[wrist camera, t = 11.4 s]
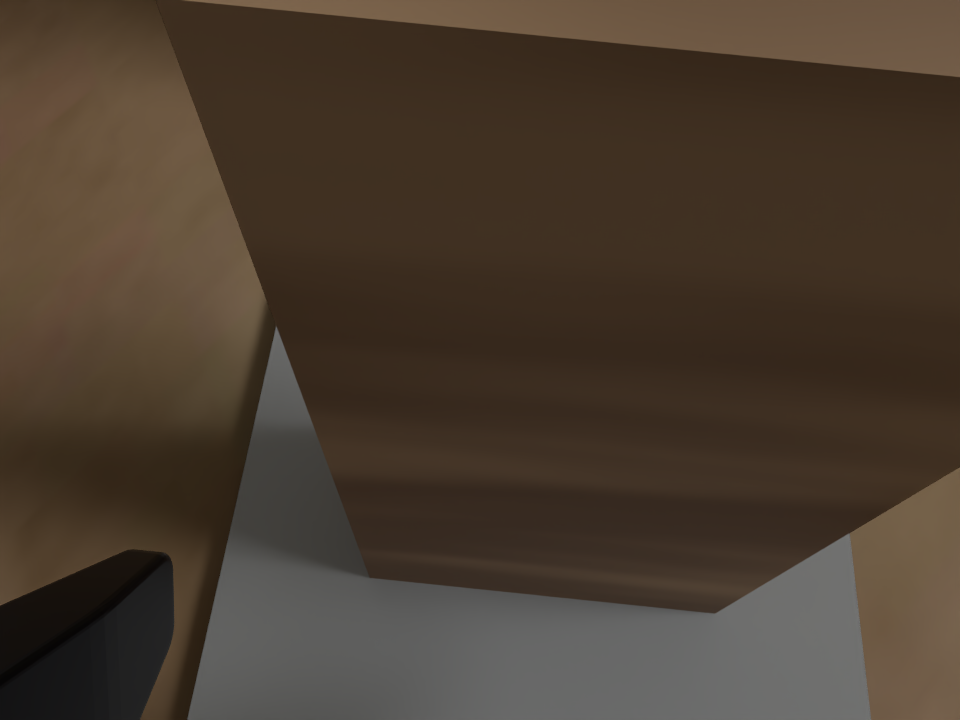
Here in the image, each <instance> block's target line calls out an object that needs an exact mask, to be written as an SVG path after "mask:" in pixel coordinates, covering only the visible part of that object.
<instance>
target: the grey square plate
mask: <svg viewBox="0 0 960 720" xmlns="http://www.w3.org/2000/svg"><path fill="white" fill-rule="evenodd" d="M187 720H871V716H870V707H869V698H868V690H867V681H866V672H865V663H864V655H863V646H862V637H861V629H860V620H859V611H858V603H857V594H856V585H855V577H854V568H853V559H852V551H851V542H850V533H849V534H847V535H846V536H844V537H842V538H841V539H839V540H837V541H836V542H834V543H832V544H831V545H829V546H827V547H826V548H824V549H822V550H821V551H819V552H817V553H816V554H814V555H812V556H811V557H809V558H807V559H806V560H804V561H802V562H800V563H799V564H797V565H795V566H794V567H792V568H790V569H789V570H787V571H785V572H784V573H782V574H780V575H779V576H777V577H775V578H774V579H772V580H770V581H769V582H767V583H765V584H764V585H762V586H760V587H759V588H757V589H755V590H754V591H752V592H750V593H749V594H747V595H745V596H744V597H742V598H740V599H739V600H737V601H735V602H734V603H732V604H730V605H729V606H727V607H725V608H724V609H722V610H720V611H719V612H717V613H715V614H714V613H704V612H695V611H685V610H675V609H666V608H656V607H646V606H637V605H627V604H617V603H608V602H598V601H588V600H578V599H569V598H559V597H549V596H540V595H530V594H520V593H511V592H501V591H491V590H482V589H472V588H462V587H453V586H443V585H433V584H424V583H414V582H404V581H394V580H385V579H375V578H370V577H369V575H368V572H367V569H366V567H365V564H364V561H363V558H362V556H361V553H360V550H359V548H358V545H357V542H356V540H355V537H354V534H353V531H352V529H351V526H350V523H349V521H348V518H347V515H346V513H345V510H344V507H343V504H342V502H341V499H340V496H339V494H338V491H337V488H336V486H335V483H334V480H333V478H332V475H331V472H330V469H329V467H328V464H327V461H326V459H325V456H324V453H323V451H322V448H321V445H320V442H319V440H318V437H317V434H316V432H315V429H314V426H313V424H312V421H311V418H310V415H309V413H308V410H307V407H306V405H305V402H304V399H303V397H302V394H301V391H300V389H299V386H298V383H297V380H296V378H295V375H294V372H293V370H292V367H291V364H290V362H289V359H288V356H287V353H286V351H285V348H284V345H283V343H282V340H281V337H280V335H279V332H278V329H277V326H276V329H275V334H274V338H273V343H272V347H271V351H270V356H269V360H268V365H267V369H266V374H265V378H264V382H263V387H262V391H261V396H260V400H259V404H258V409H257V413H256V418H255V422H254V427H253V431H252V435H251V440H250V444H249V449H248V453H247V458H246V462H245V466H244V471H243V475H242V480H241V484H240V489H239V493H238V497H237V502H236V506H235V511H234V515H233V519H232V524H231V528H230V533H229V537H228V542H227V546H226V550H225V555H224V559H223V564H222V568H221V573H220V577H219V581H218V586H217V590H216V595H215V599H214V603H213V608H212V612H211V617H210V621H209V626H208V630H207V634H206V639H205V643H204V648H203V652H202V657H201V661H200V665H199V670H198V674H197V679H196V683H195V688H194V692H193V696H192V701H191V705H190V710H189V714H188V718H187Z"/></svg>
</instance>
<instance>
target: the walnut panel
mask: <svg viewBox="0 0 960 720" xmlns="http://www.w3.org/2000/svg"><path fill="white" fill-rule="evenodd" d="M156 3H157V6H158V8H159V11H160V14H161V16H162V19H163V22H164V24H165V27H166V30H167V33H168V35H169V38H170V41H171V43H172V46H173V49H174V51H175V54H176V57H177V59H178V62H179V65H180V68H181V70H182V73H183V76H184V78H185V81H186V84H187V86H188V89H189V92H190V95H191V97H192V100H193V103H194V105H195V108H196V111H197V113H198V116H199V119H200V122H201V124H202V127H203V130H204V132H205V135H206V138H207V140H208V143H209V146H210V148H211V151H212V154H213V157H214V159H215V162H216V165H217V167H218V170H219V173H220V175H221V178H222V181H223V184H224V186H225V189H226V192H227V194H228V197H229V200H230V202H231V205H232V208H233V211H234V213H235V216H236V219H237V221H238V224H239V227H240V229H241V232H242V235H243V237H244V240H245V243H246V246H247V248H248V251H249V254H250V256H251V259H252V262H253V264H254V267H255V270H256V273H257V275H258V278H259V281H260V283H261V286H262V289H263V291H264V294H265V297H266V300H267V302H268V305H269V308H270V310H271V313H272V316H273V318H274V321H275V324H276V326H277V329H278V332H279V335H280V337H281V340H282V343H283V345H284V348H285V351H286V353H287V356H288V359H289V362H290V364H291V367H292V370H293V372H294V375H295V378H296V380H297V383H298V386H299V389H300V391H301V394H302V397H303V399H304V402H305V405H306V407H307V410H308V413H309V415H310V418H311V421H312V424H313V426H314V429H315V432H316V434H317V437H318V440H319V442H320V445H321V448H322V451H323V453H324V456H325V459H326V461H327V464H328V467H329V469H330V472H331V475H332V478H333V480H334V483H335V486H336V488H337V491H338V494H339V496H340V499H341V502H342V504H343V507H344V510H345V513H346V515H347V518H348V521H349V523H350V526H351V529H352V531H353V534H354V537H355V540H356V542H357V545H358V548H359V550H360V553H361V556H362V558H363V561H364V564H365V567H366V569H367V572H368V575H369V577H370V578H375V579H385V580H394V581H404V582H414V583H424V584H433V585H443V586H453V587H462V588H472V589H482V590H491V591H501V592H511V593H520V594H530V595H540V596H549V597H559V598H569V599H578V600H588V601H598V602H608V603H617V604H627V605H637V606H646V607H656V608H666V609H675V610H685V611H695V612H704V613H714V614H715V613H717V612H719V611H720V610H722V609H724V608H725V607H727V606H729V605H730V604H732V603H734V602H735V601H737V600H739V599H740V598H742V597H744V596H745V595H747V594H749V593H750V592H752V591H754V590H755V589H757V588H759V587H760V586H762V585H764V584H765V583H767V582H769V581H770V580H772V579H774V578H775V577H777V576H779V575H780V574H782V573H784V572H785V571H787V570H789V569H790V568H792V567H794V566H795V565H797V564H799V563H800V562H802V561H804V560H806V559H807V558H809V557H811V556H812V555H814V554H816V553H817V552H819V551H821V550H822V549H824V548H826V547H827V546H829V545H831V544H832V543H834V542H836V541H837V540H839V539H841V538H842V537H844V536H846V535H847V534H849V533H851V532H852V531H854V530H856V529H857V528H859V527H861V526H862V525H864V524H866V523H867V522H869V521H871V520H872V519H874V518H876V517H877V516H879V515H881V514H882V513H884V512H886V511H887V510H889V509H891V508H892V507H894V506H896V505H897V504H899V503H901V502H902V501H904V500H906V499H907V498H909V497H911V496H912V495H914V494H916V493H917V492H919V491H921V490H922V489H924V488H926V487H927V486H929V485H931V484H932V483H934V482H936V481H937V480H939V479H941V478H942V477H944V476H946V475H947V474H949V473H951V472H952V471H954V470H956V469H957V468H959V467H960V0H156Z"/></svg>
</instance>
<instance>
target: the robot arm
mask: <svg viewBox="0 0 960 720" xmlns="http://www.w3.org/2000/svg"><path fill="white" fill-rule="evenodd" d="M173 630H174V592H173V565H172V561H171V558H170V557H169V556H168V555H167V554H166V553H162V552H154V551H144V550H134V549H133V550H127V551H124V552H122V553H119V554H117V555H115V556H113V557H110V558H108V559H106V560H103V561H101V562H99V563H97V564H94V565H92V566H90V567H87V568H85V569H83V570H81V571H78V572H76V573H74V574H71V575H69V576H67V577H65V578H62V579H60V580H58V581H55V582H53V583H51V584H49V585H46V586H44V587H42V588H39V589H37V590H35V591H33V592H30V593H28V594H26V595H23V596H21V597H19V598H17V599H14V600H12V601H10V602H7V603H5V604H3V605H1V606H0V720H140V718H141V715H142V713H143V711H144V708H145V706H146V703H147V701H148V698H149V696H150V694H151V691H152V689H153V686H154V684H155V681H156V679H157V676H158V674H159V672H160V669H161V667H162V664H163V662H164V659H165V657H166V654H167V652H168V650H169V647H170V644H171V640H172V636H173Z"/></svg>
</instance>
